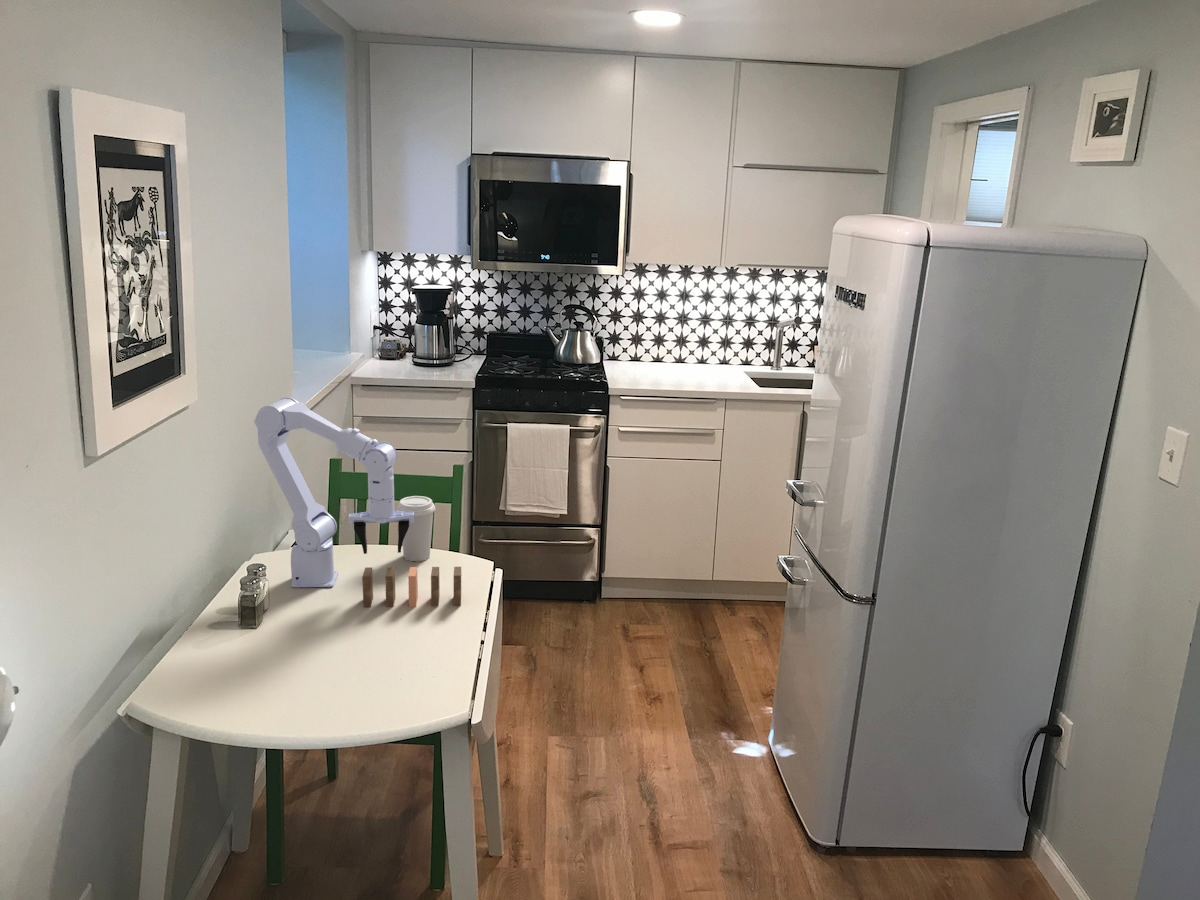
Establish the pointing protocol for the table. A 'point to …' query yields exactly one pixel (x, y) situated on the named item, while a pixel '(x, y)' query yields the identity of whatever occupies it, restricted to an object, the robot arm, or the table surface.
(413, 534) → the coffee cup
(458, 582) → the domino
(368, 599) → the domino
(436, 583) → the domino
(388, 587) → the domino
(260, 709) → the table surface
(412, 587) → the domino
